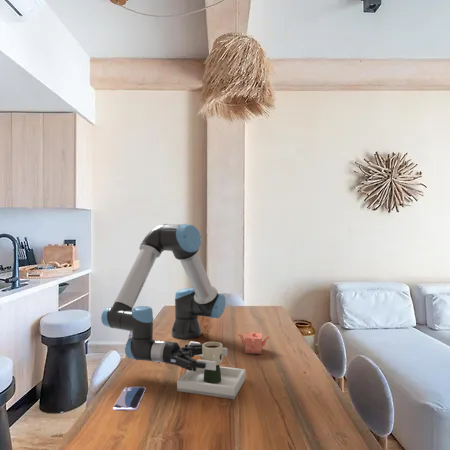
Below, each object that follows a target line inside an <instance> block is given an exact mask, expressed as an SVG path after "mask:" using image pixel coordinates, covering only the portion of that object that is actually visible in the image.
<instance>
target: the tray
mask: <svg viewBox="0 0 450 450" xmlns="http://www.w3.org/2000/svg"><path fill="white" fill-rule="evenodd" d="M219 366H220V372H221V381H220V382H219V383H207V382H204V370H205V369H199V368H196V371H193V369H192V371H189V370H187V369H186V371H185V372H184V373H183V374H182V375H180V377H179V378H178V379H177V381H176V391H177V392H183V393H190V394H194V395H195V394H196V395H202V396H203V395H204V396H209V397H210V396H211V397H217V398H222V399H223V398H224V399H231V400H235V398H236V397H237V395H238V393H239V391H240V390H241V389H242V385H243V384H244V382H245V380H246V374H247V373H246V369H245V368H237V367H229V366H221V365H219Z"/></svg>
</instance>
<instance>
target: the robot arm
mask: <svg viewBox="0 0 450 450" xmlns="http://www.w3.org/2000/svg"><path fill="white" fill-rule="evenodd" d="M201 238H202V236H201V233H200V231H199V229H198V228H197V226H196V225H195V226H194V225H193V224H187V223H181V224H175V223H174V224H171V223H169V224H168V223H163V224H159V225H157V226H155V227H154V228H153V229H151V230H150V231H149V232H148V233H147V234H146V235H145V236H144V238H143V240H142V241H141V243H140V245H139V253H138V254H137V256H136V259H135V261H134V263H133V265H132V267H131V268H130V270H129V272H128V275H127V277H126V278H125V280H124V283H123V284H122V287H121V289H120V290H119V293H118V294H117V297H116V299H115V300H114V303H113V305H112V306H109V307H106V308H105V309H104V310H103V311H102V312H101V313H102V314H101V318H100V320H101V323H102V325H103V326H104V327H108V328H111V329H116V330H123V331H127V332H128V331H129V332H131V333H132V334H131V337H130V338H129V339H127V341H126V343H125V347H124V354H125V356H126V357H127V358H128V359H131V360H136V361H143V362H144V361H145V362H153V363H154V362H155V363H157V364H161V363H163V364H164V363H165V364H167V365H174V366H177V367H180V368H183V369H185V370H186V371H187V370H189V371H192V369H193V371H196V368H199V369H207V370H216V362H215V361H207V360H202V359H199V358H198V359H197V360H195V358H193V357H195V356H194V355H200V354H202V345H203V344H204V343H202V344H201V343H200V344H198V345H189V344H184V346H182V347H181V346H180V345H179V343H178V342H176V341H166V340H158V339H157V340H156V339H155V340H154V339H153V335H154V331H153V330H154V316H153V315H154V313H153V309H152V307H150V306H147V305H141V306H140V305H139V306H135V305H136V302H137V300H138V299H139V296H140V294H141V291H142V289H143V287H144V285H145V283H146V281H147V278H148V277H149V274H150V272H151V270H152V269H153V266H154V264H155V262H156V259H157V258H160V256H161V254H162V253H163V252H164V251H169V252H172V254H173V256H174V258H175V259H176V260H179V261H180V264H181V265H182V268H183V269H184V273H186V277H187V279H188V281H189V283H190V286H191V287H190V288H182V289H178V290H177V291H176V292H175V296H174V297H175V299H174V302H175V303H174V312H175V313H174V317H175V318H174V322H173V325H172V328H171V336H172V337H173V338H176V339H186V340H187V339H195V338H198V337H200V336H202V328H201V324H200V321H199V317H204V318H208V319H209V318H210V319H219V318H220V317H221V316H222V315H223V313H224V310H225V309H226V301H227V300H226V297H225V295H224V294H222V293H219V292H218V290H217V288H216V287H215V286H213V285H212V284H211V282H210V279H209V276H208V274H207V271H206V269H205V267H204V265H203V262H202V260H201V257H200V255H199V251H200V247H201V245H202V244H201V243H202V240H201ZM134 306H135V307H134ZM222 355H223V357H227V356H228V347H222Z"/></svg>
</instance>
